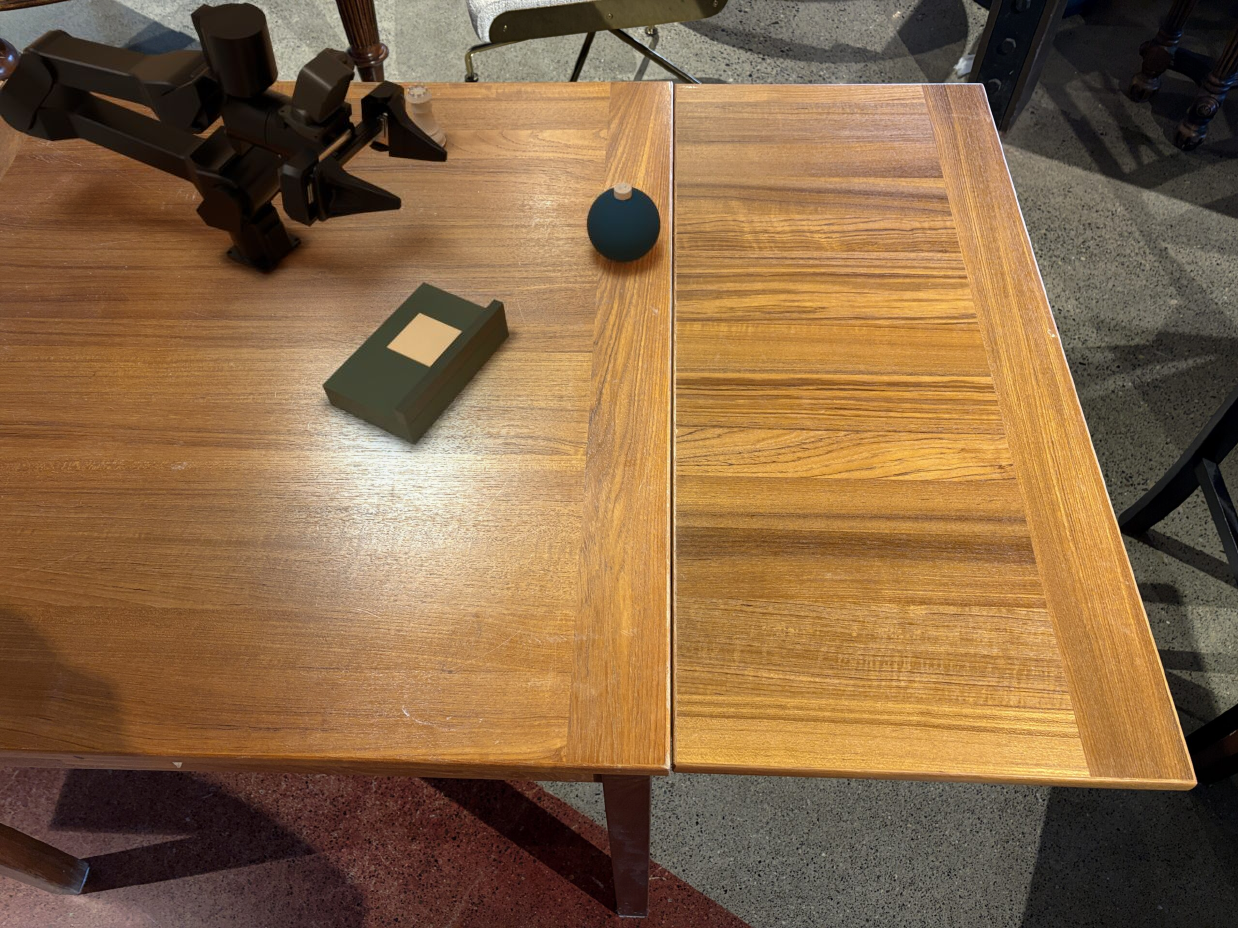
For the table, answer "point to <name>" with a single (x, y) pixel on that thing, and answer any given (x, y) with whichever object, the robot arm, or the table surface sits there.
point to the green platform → (418, 361)
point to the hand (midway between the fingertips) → (424, 179)
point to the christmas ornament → (623, 223)
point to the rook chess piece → (424, 112)
